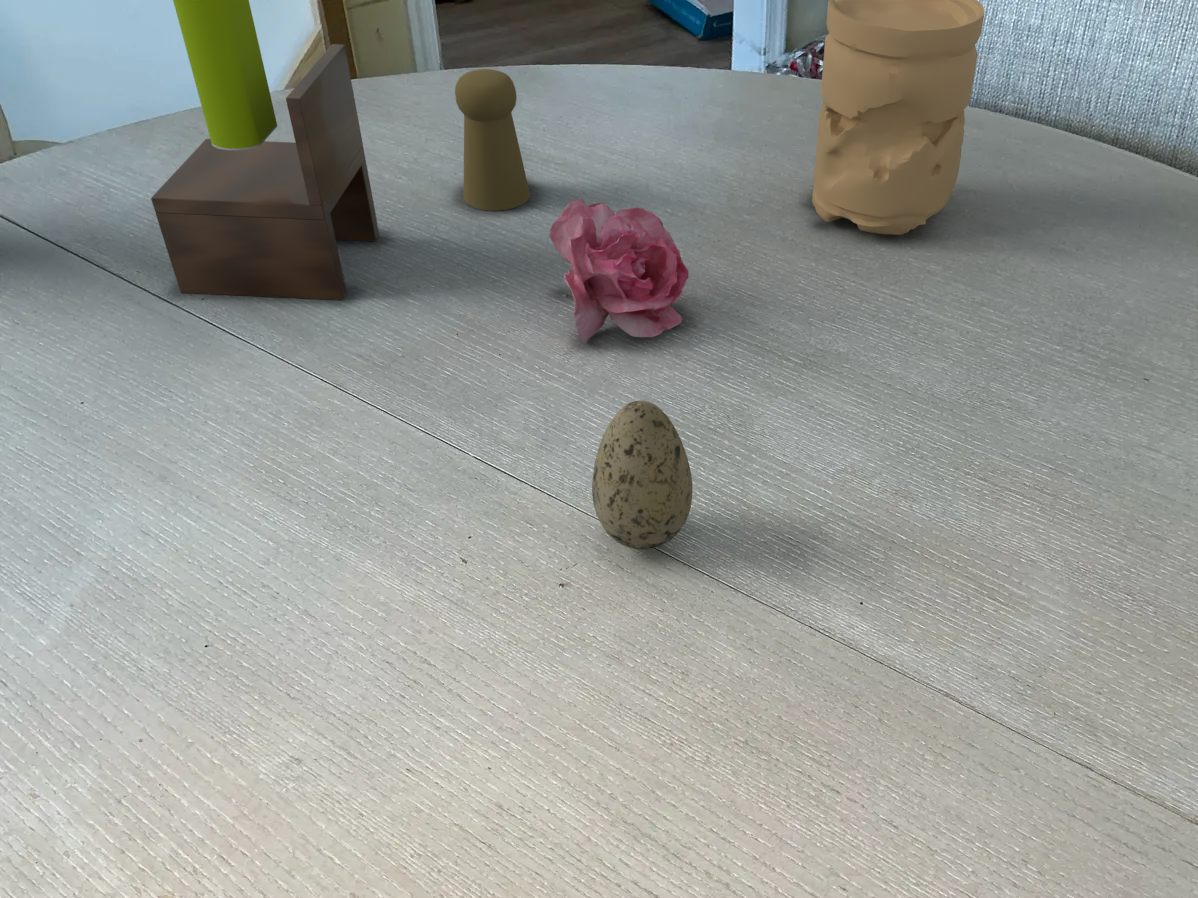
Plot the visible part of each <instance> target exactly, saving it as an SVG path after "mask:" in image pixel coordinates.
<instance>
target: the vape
mask: <svg viewBox="0 0 1198 898" xmlns="http://www.w3.org/2000/svg"><path fill="white" fill-rule="evenodd" d="M172 1H173V6H174V9H175V13H176V16H177V20H178V24H179V28H180V31H181V35H182V39H183V43H184V46H185V49H186V54H187V57H188V61H189V64H190V65H189V66H190V69H191V72H192V76H193V80H194V83H195V86H196V91H197V94H198V98H199V102H200V105H201V109H202V113H203V118H204V122H205V124H206V128H207V132H208V136H209V139H211V143H212V145H213V146H214V147H216V148H219V149H223V150H247V149H252V148H256V147H258V146H260V145H261V144H262V143H263V142H264V141H267V139H268V138H269V137H270V135H271V134H272V133H273V132H274V131H275V130H276V129H277V128H278V123H277V117H276V114H275V109H274V105H273V100H272V96H271V92H270V88H269V82H268V78H267V74H266V70H265V65H264V60H263V57H262V56H263V55H262V53H261V48H260V44H259V39H258V35H257V34H258V33H257V30H256V26H255V21H254V17H253V13H252V7H251V4H250V0H172Z"/></svg>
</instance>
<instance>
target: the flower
mask: <svg viewBox="0 0 1198 898" xmlns="http://www.w3.org/2000/svg"><path fill="white" fill-rule="evenodd" d="M567 202H568V203H567V204H566V205H565V207H564V208H563V210H562V212H561V214H560V215H559V216H558V217H557V218H556V219H555V221H554V222H553V223H552V225H551V228H550V231H549V239H550V241H551V242H552V244H553V247H554V249H555V250H556V251H557V252H558V253H559V255H560V257H561V258H562V260H564V261H566V262H568V263H570V267H571V269H570V270H568V271H567V272H564V274H563V277H564V279H563V282H564V283H565V284H566V285H567V286H568V289H569V290H570V291H568V292H565V293H563V295H564V296H566V295H568V294H571V296H572V299H573V303H574V304H573V305H574V311H573V316H574V319H575V325H576V330H577V334H578V336H579V339H580V341H581V343H583V344H586V343H587V342H588V341H589V340H590V339H591V338H592V337H593V336H594V335H595V334H596V333H597V332H599V330H600V329H601V328H603V326H604V325H605V322H606V320H607V318H608V316H609V317H610V320H611V321H612V322H613V323H614V324H615V325H616V326H618V327H619V328H620V329H621V330H622V331H624V332H625V333H626V334H627V335H629V336H631V337H635V338H655V337H657V336H660V335H662V333H663V332H664V331H667V330H671V329H673V328H675V327H676V326H678V325H680V324H682V323H683V318H682V315H681V314H680V313H678V312H677V311H676V310H675V309H674V308H673V307H672V306H671V304H673V303H674V302H676V301H677V300H678V299H679V298H680V296H681V295H682V293H683V288H684V287H685V286H686V283H687V281H688V279H689V278H690V277H689V275H690V274H689V269H688V268H687V267H686V265H685V264H684V262H683V259H682V257H681V252H680V249H679V248H678V246H677V245H676V243H675V241H674V239H673V237H672V235H671V233H670V232H669V231H668V230H667V229H666V228H665V227H664V223H663V221H662V220H661V218H660V217H658V216H657V215H656V214H655V213H654V212H652V211H649V210H646V209H645V208H643V207H639V206H635V207H630V208H624V209H619V210H617V211H616V212H615V211H614V210H613V209H612V208H611V206H610V205H608V204H606V203H605V202H603V201H601V202H596V203H592V204H589V205H588V204H587V203H586V202H585V201H584V199H583V198H581V197H579V198H575V199H572V200H569V201H567Z"/></svg>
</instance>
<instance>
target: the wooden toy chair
mask: <svg viewBox="0 0 1198 898" xmlns="http://www.w3.org/2000/svg"><path fill="white" fill-rule="evenodd" d="M348 62H349V61H348V55H347V50H346V45H345V44H340V43H339V44H338V43H332V44H331V45H330V46H329V47H328V48H327V50H326V51H325V52H324V53H323V54H322V55H321V57H320V58H319V59H318V60H317V61H316V62H315V64H314V65H312V67H311V68H310V69H309V71H308V72H307V73H306V74H305V75H304V76H303V77H302V79H301V80H300V81H299V82H298V83H297V84H296V85H295V86H294V88H293V89H292V90H291V91H290V92H289V94H288V95H287V96H286V97H285V101H286V102H285V103H286V107H287V111H288V115H289V120H290V123H291V128H292V133H293V137H294V141H295V142H292V141H269V140H265V141H264V142H263V143H262V144H261V145H260V146H258V147H256V148H252V149H247V150H223V149H219V148H216V147H214V146H213V145H212V143H211V139H210V138H205V139H204V140H203V141H202V143H200V145H199V146H198V147H197V148H196V149H195V150H194V151H193V152H192V153H191V154H190V155H189V156H188V158H187V159H185V161H184V162H183V163H182V164H181V165H180V166H178V168H177V169H176V170H175V172H174V173H172V175H171V176H170V177H169V178H168V179H167V180H166V181H165V182H164V184H162V185H161V187H160V188H159V189H158V190H157V191H156V192H155V193H154V194H153V195H152V196H151V197H150V200H151V203H152V206H153V210H154V213H155V216H156V219H157V223H158V226H159V229H160V232H161V236H162V238H163V242H164V244H165V248H166V251H167V254H168V258H169V260H170V263H171V267H172V269H173V273H174V277H175V279H176V282H177V285H178V288H179V292H180V293H181V294H198V295H199V294H201V295H220V296H221V295H224V296H227V295H228V296H244V297H245V296H247V297H266V298H267V297H268V298H269V297H270V298H288V299H289V298H290V299H291V298H292V299H309V300H310V299H312V300H332V301H344V299H345V297H346V295H347V294H348V292H347V287H346V282H345V277H344V273H343V267H342V262H341V258H340V254H339V249H338V244H337V241H359V242H377V240H378V239H379V237H380V231H379V224H378V219H377V214H376V209H375V203H374V199H373V193H372V188H371V181H370V176H369V170H368V165H367V161H366V154H365V149H364V143H363V136H362V132H361V127H360V121H359V116H358V110H357V104H356V99H355V94H354V89H353V88H354V87H353V83H352V78H351V73H350V66H349V63H348Z"/></svg>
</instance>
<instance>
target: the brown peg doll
mask: <svg viewBox="0 0 1198 898" xmlns="http://www.w3.org/2000/svg"><path fill="white" fill-rule="evenodd" d="M454 95H455V103H456V105H457V108H458V109H459V111H461V113H462V114H463V201H464V202H465V204H467V205H468V206H470V207H472V208H473V209H476V210H477V209H478V210H481V211H491V212H498V211H506V210H511V209H515V208H518V207H520V206H522V205H524V204H525V203H527V202H528V201H529V200H530V197H531V192H530V188H529V184H528V179H527V175H526V170H525V166H524V161H523V158H522V152H521V149H520V144H519V140H518V136H517V131H516V127H515V122H514V118H513V114H512V112H513V110H514V109H515V107H516V104H517V90H516V87H515V83H514V81H513V80H512V78H511V76H509V75H508V74H507V73H505V72H504V71H503V72H502V71H500V70H497V69H491V68H490V69H489V68H480V69H479V68H478V69H475V70H469V71H467V72H465V73H464V74H462V75H461V76H459V78H458V79H457V81H456V83H455V87H454Z"/></svg>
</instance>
